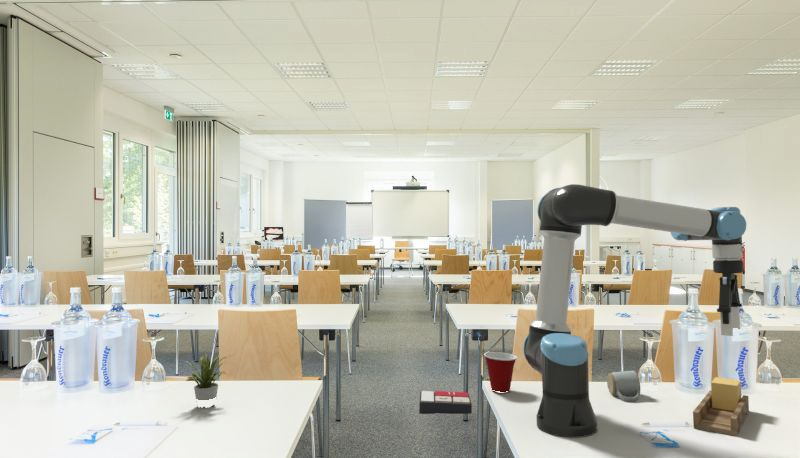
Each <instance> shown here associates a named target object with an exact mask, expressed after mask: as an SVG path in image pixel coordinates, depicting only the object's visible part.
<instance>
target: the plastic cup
mask: <svg viewBox="0 0 800 458" xmlns="http://www.w3.org/2000/svg"><path fill="white" fill-rule="evenodd" d="M483 356H484V359H485V364H486V367H487V374H488V379H489V382H490V383H489V384H490V388H492V389H491V391H492V390H495V391H500V392H506V391H509V390H510V391H511V385H512V381H513V380H512V379H513V373H514V367H515V363H516V361H517V359H518V356H517V355H514V354H512V353H508V352H499V351H487V352H485V353H484V354H483ZM510 391H509V392H510Z"/></svg>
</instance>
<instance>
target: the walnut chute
mask: <svg viewBox="0 0 800 458" xmlns="http://www.w3.org/2000/svg"><path fill="white" fill-rule="evenodd" d="M749 403H750V401H749V395H742V396H741V400H740V402H739V404H738V405H737V407H736V409H735V411H730V410H724V409H717V408H712V394H711V390H709V391H708V392H707V393H706V395H705V396H704V397H703V398H702V400H701V401H700V402H699V404H698V405H697V406H696V407H695V409H694V410H693V411H692V417H693V418H692V419H693V420H692V421H693V422H692V423H693V429H695V430H701V431H706V432H712V433H716V434H723V435H726V436H727V435H728V436H734V437H738V435H739V433H740V431H741V428H742V426H743V425H744V423H745V420H746V418H747V416H748V414H749V412H750V405H749Z"/></svg>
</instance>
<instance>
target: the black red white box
mask: <svg viewBox="0 0 800 458" xmlns="http://www.w3.org/2000/svg"><path fill="white" fill-rule="evenodd" d="M472 405H473V404H472V401H471V396H470V394H469V393H468V392H465V391H464V392H463V391H461V392H460V391H443V390H442V391H441V390H435V391H432V390H431V391H429V390H421V391H420V392H419V410H418V413H419V415H435V414H443V415H444V414H446V415H450V414H451V415H452V414H453V415H460V414H461V415H464V414H465V415H466V414H467V415H468V414H472V408H473V407H472Z"/></svg>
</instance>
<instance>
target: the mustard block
mask: <svg viewBox="0 0 800 458" xmlns="http://www.w3.org/2000/svg"><path fill="white" fill-rule="evenodd" d="M741 381H742V380H741V379H740V380H739V379H734V378H733V379H732V378H724V377H717V376H716V377H714V378H713V379H712V381H711V382H710V387H711V388H710V389H711V390H710V391H711V394H712V408H717V409H724V410H730V411H735V409H736V407H737V405H738V404H739V402H740V400H741V398H742V383H741Z"/></svg>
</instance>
